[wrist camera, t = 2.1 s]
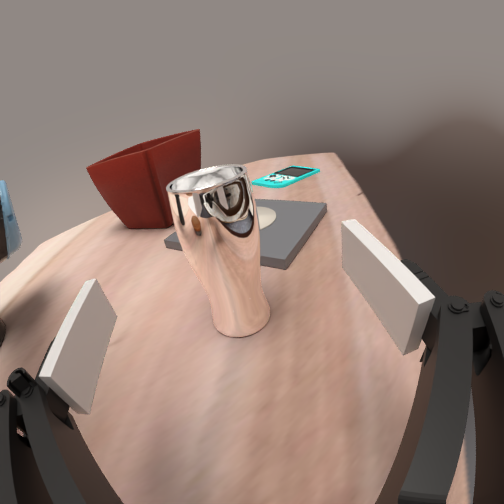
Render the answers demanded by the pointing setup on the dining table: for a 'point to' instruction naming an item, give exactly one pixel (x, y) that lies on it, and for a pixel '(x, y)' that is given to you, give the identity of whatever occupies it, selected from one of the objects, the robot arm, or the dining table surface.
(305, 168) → the handheld game console
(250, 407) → the dining table surface
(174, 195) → the beer glass
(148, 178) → the plant pot
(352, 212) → the dining table surface
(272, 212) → the serving board
